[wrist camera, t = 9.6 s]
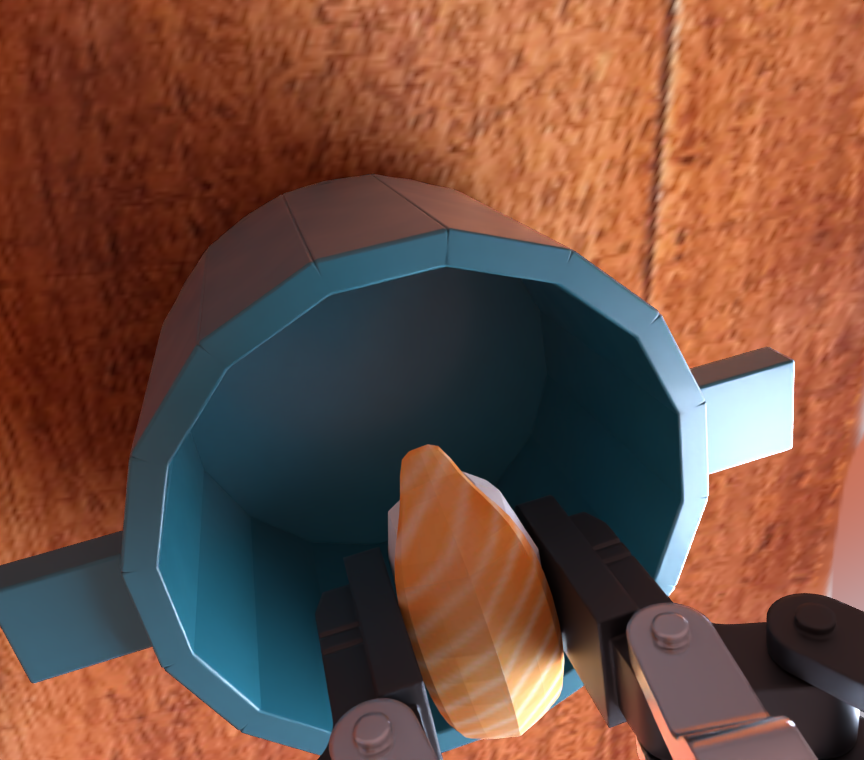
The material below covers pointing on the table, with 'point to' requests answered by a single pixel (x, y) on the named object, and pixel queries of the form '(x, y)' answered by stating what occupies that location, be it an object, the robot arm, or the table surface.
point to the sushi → (473, 599)
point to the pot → (375, 436)
